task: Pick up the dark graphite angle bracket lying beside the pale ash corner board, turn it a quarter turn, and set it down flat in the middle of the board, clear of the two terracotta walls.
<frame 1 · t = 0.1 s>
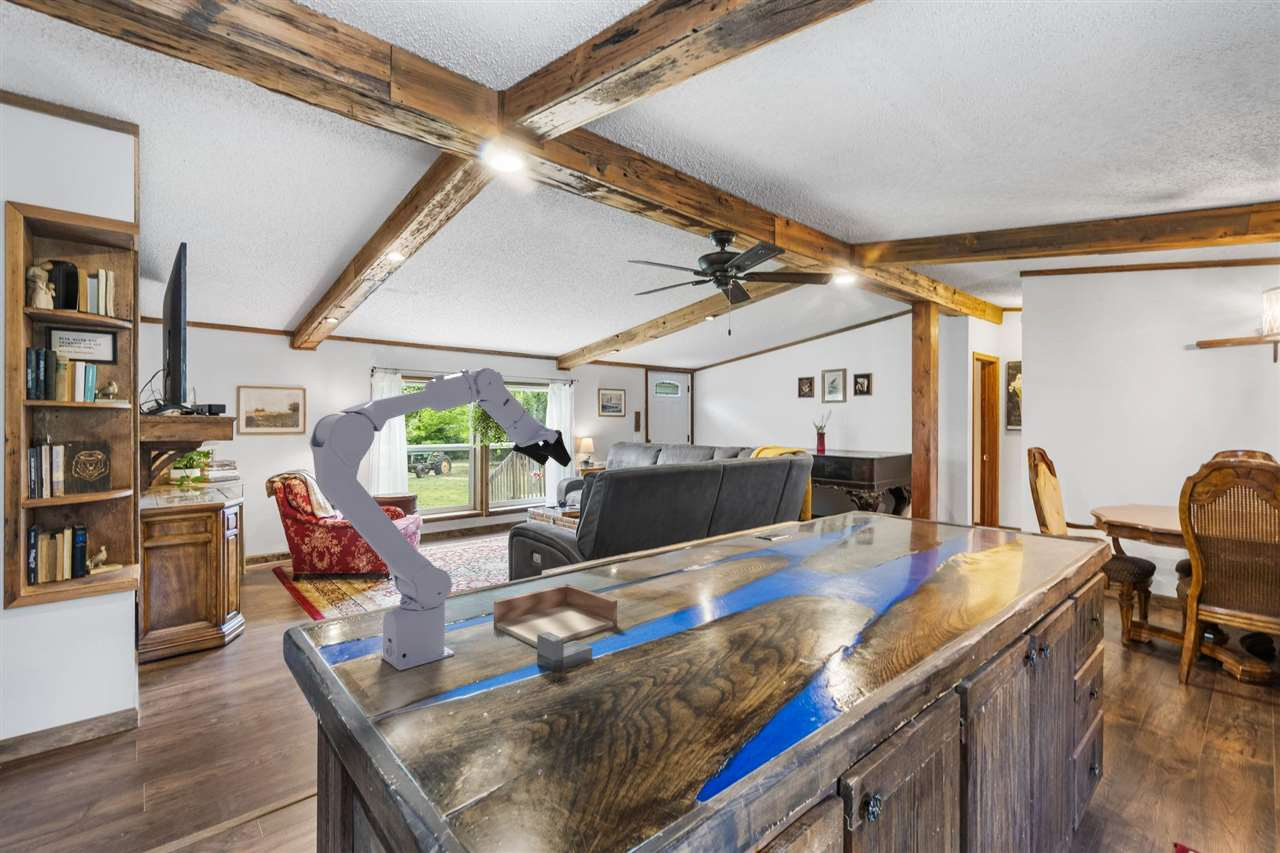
hand: (556, 462, 118), 32 cm above the kitchen island, fingers open, 7 cm apart
angle bracket: (564, 661, 97), on the kitchen island
corner arena: (555, 626, 114), on the kitchen island
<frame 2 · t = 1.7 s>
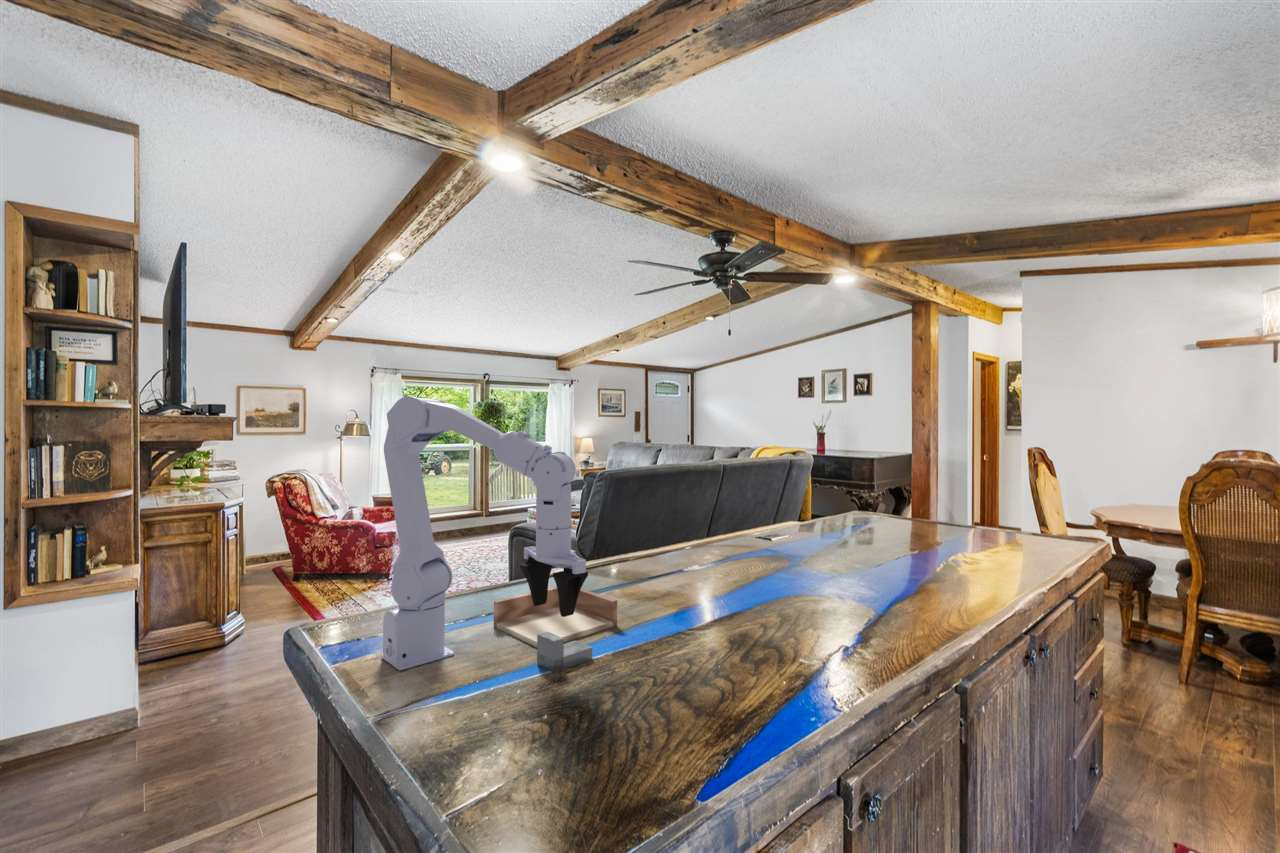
hand: (553, 609, 95), 9 cm above the kitchen island, fingers open, 7 cm apart
nothing on the kitchen island moved.
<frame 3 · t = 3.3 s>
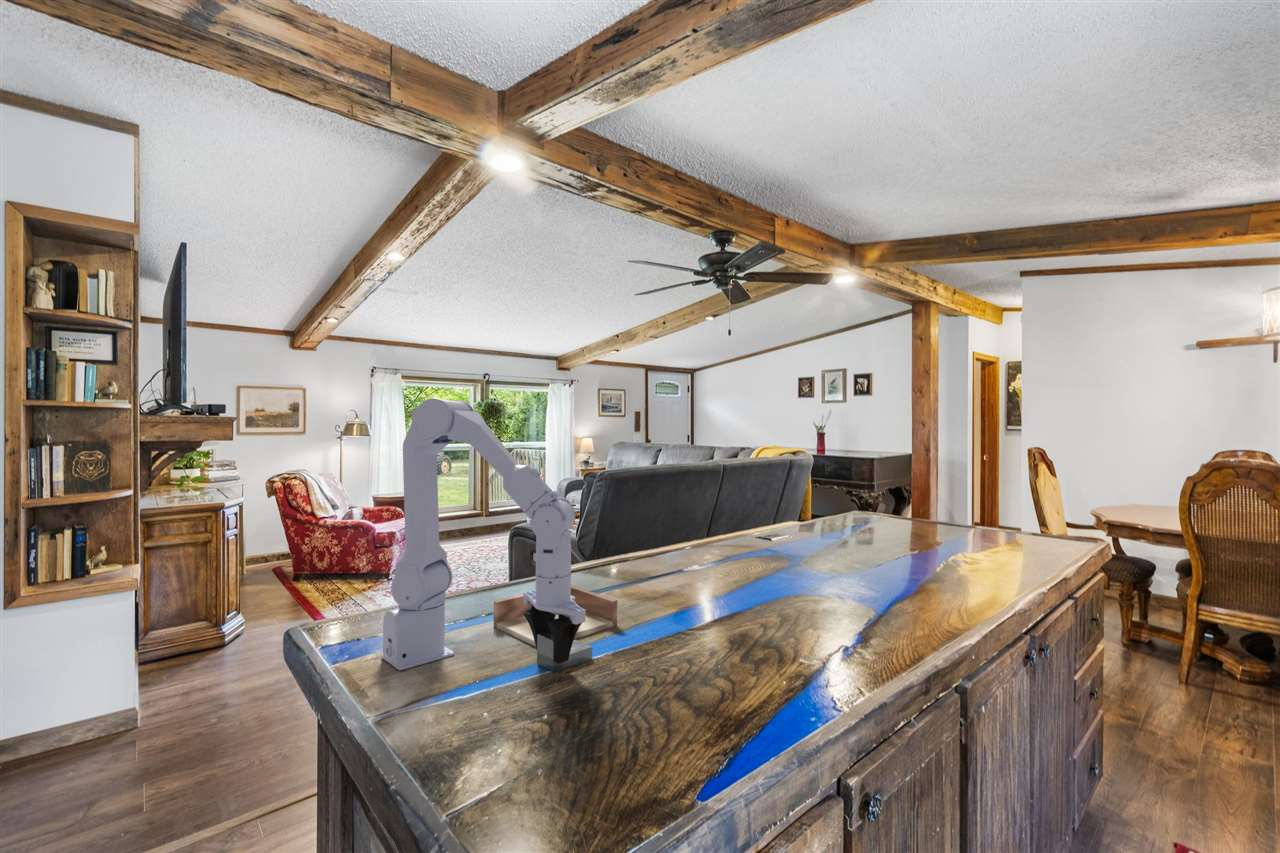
hand: (552, 656, 95), 1 cm above the kitchen island, fingers closed on angle bracket, 4 cm apart
angle bracket: (564, 661, 97), on the kitchen island, touching gripper
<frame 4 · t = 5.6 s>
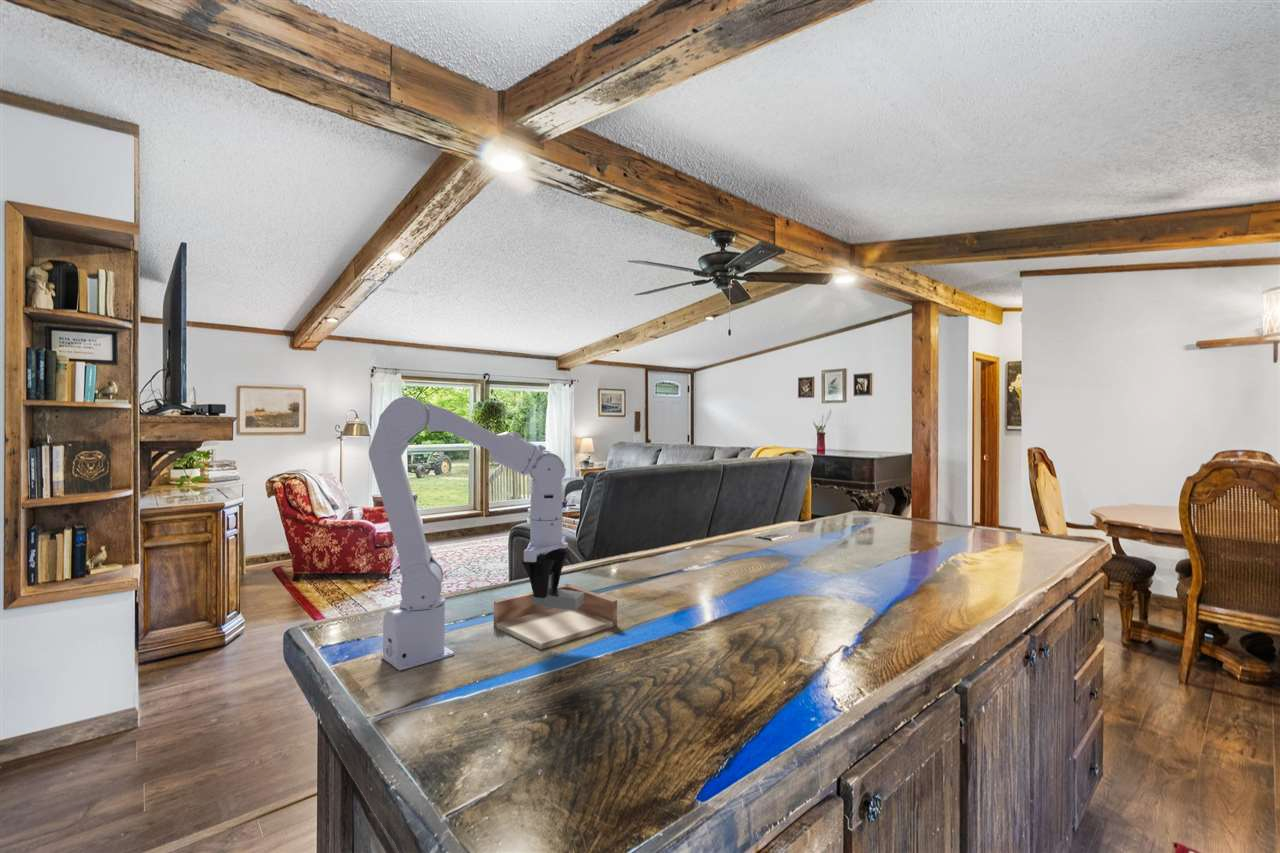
hand: (545, 593, 105), 9 cm above the kitchen island, fingers closed on angle bracket, 4 cm apart
angle bracket: (558, 603, 104), point 7 cm above the kitchen island, touching gripper
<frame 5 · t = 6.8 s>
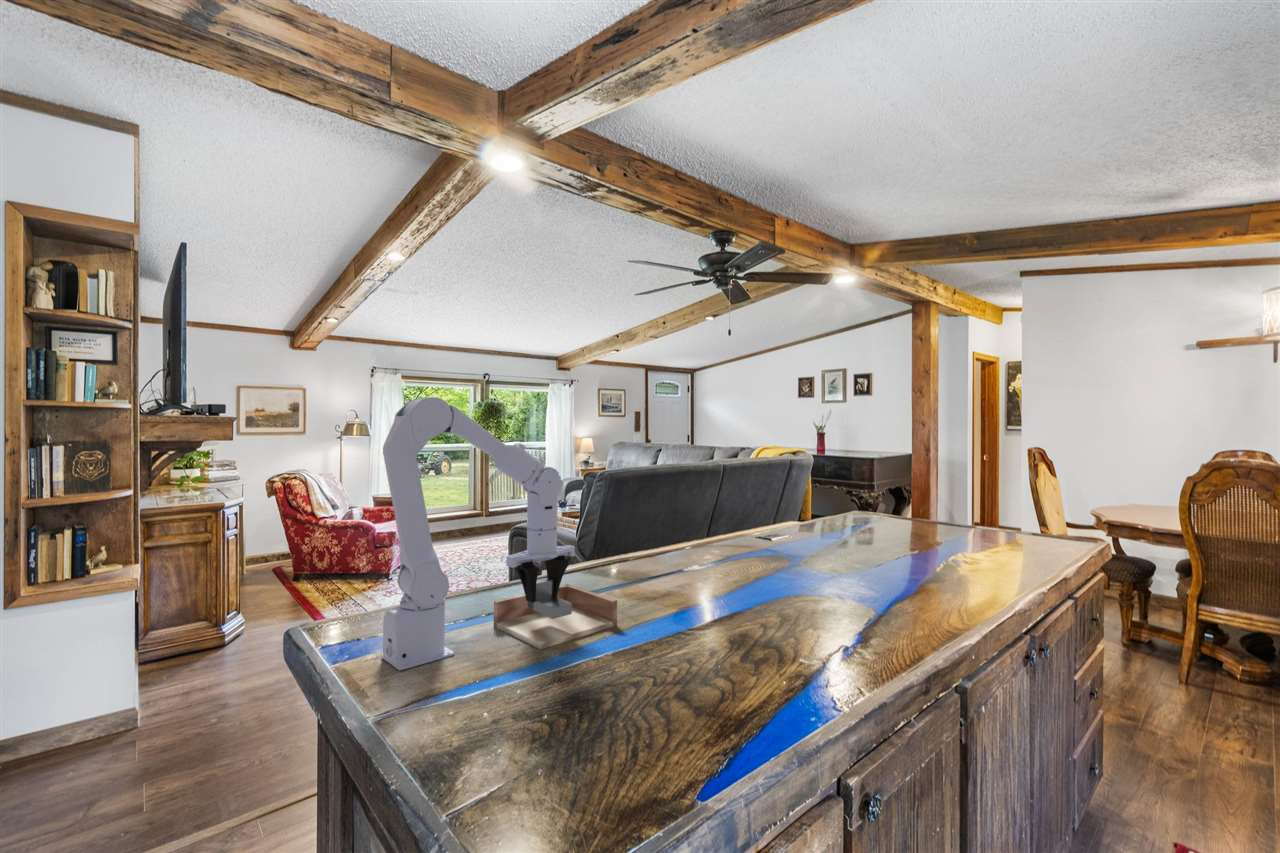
hand: (541, 598, 112), 6 cm above the kitchen island, fingers closed on angle bracket, 4 cm apart
angle bracket: (549, 610, 110), point 4 cm above the kitchen island, touching gripper
when the fingers open (4 cm above the kitchen island, at t = 8.0 s): angle bracket drops 1 cm, resting on corner arena.
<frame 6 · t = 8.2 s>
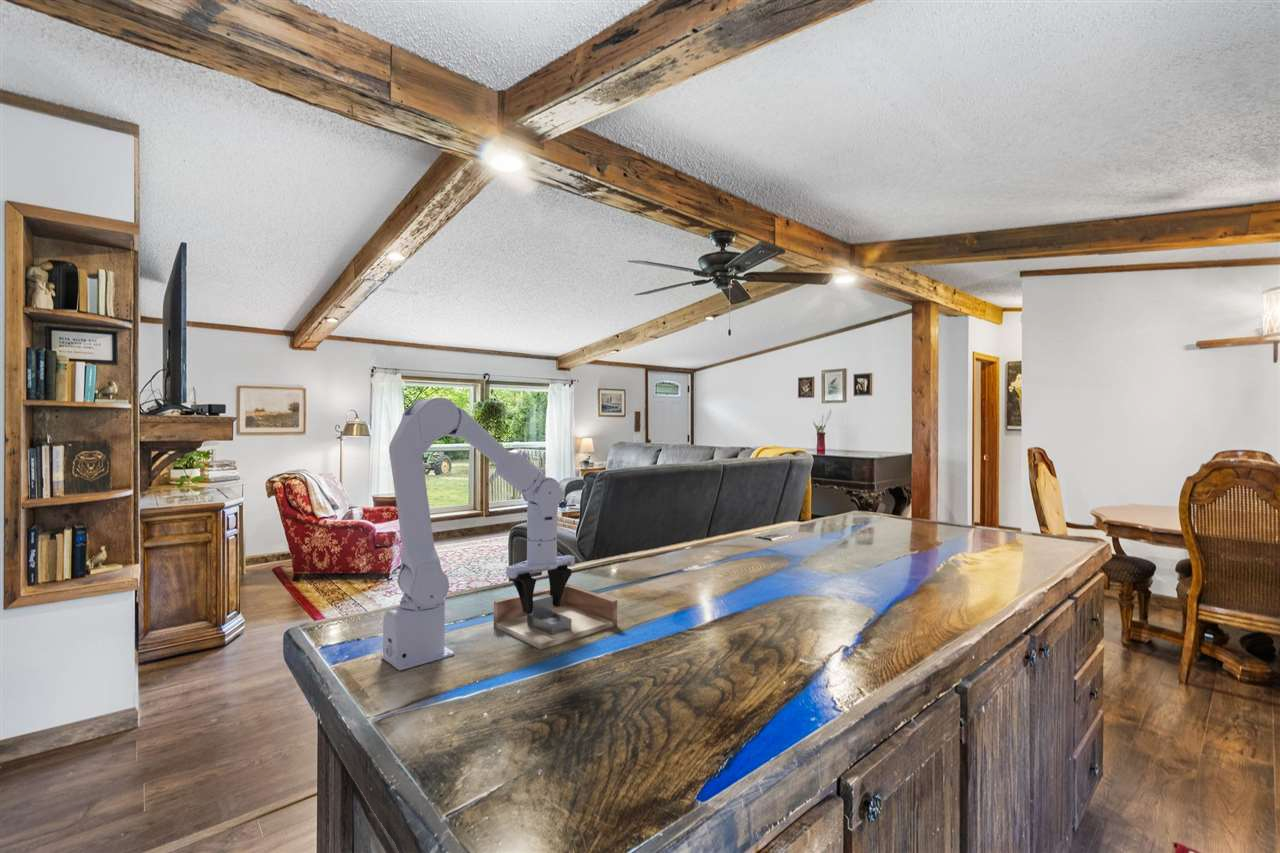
hand: (541, 608, 112), 4 cm above the kitchen island, fingers open, 6 cm apart
angle bracket: (549, 627, 110), point 1 cm above the kitchen island, touching corner arena
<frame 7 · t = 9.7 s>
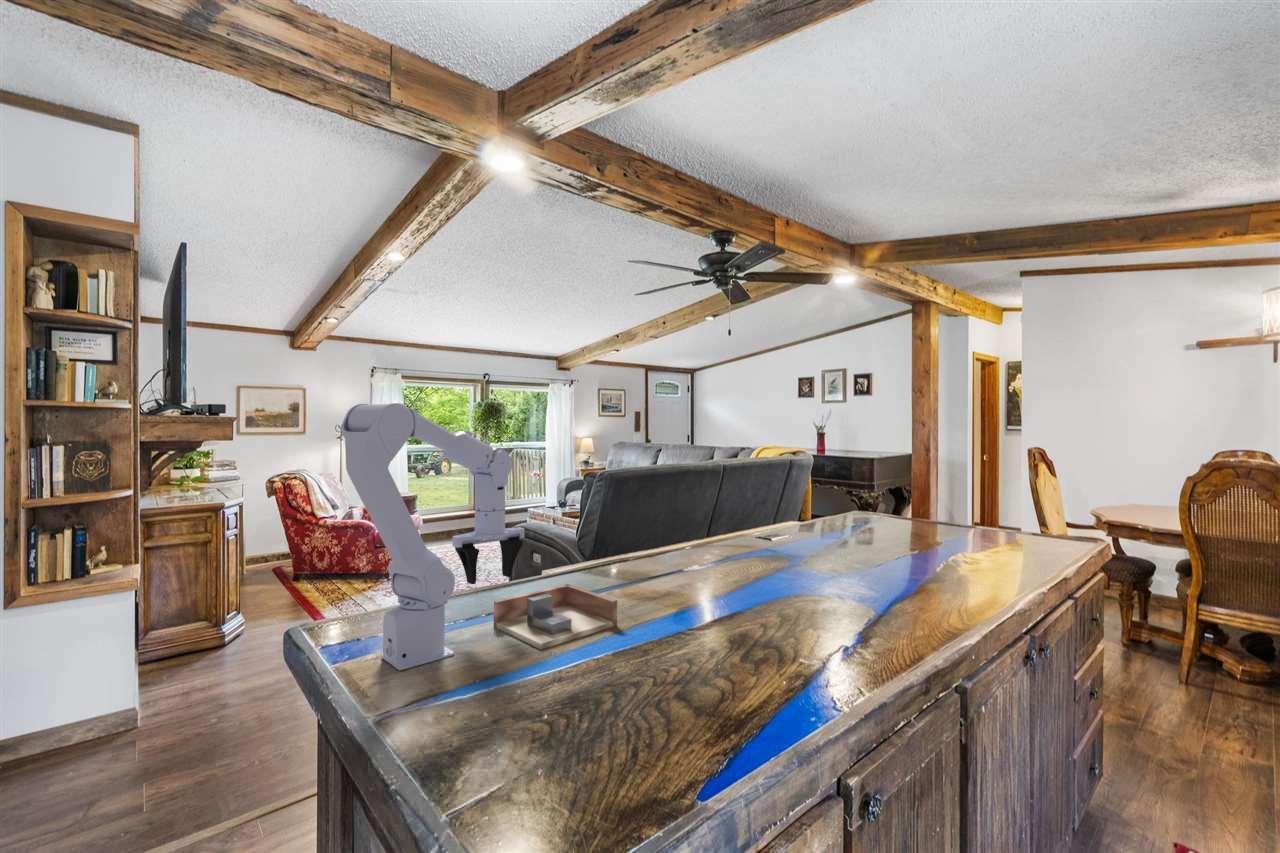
hand: (489, 579, 112), 9 cm above the kitchen island, fingers open, 7 cm apart
nothing on the kitchen island moved.
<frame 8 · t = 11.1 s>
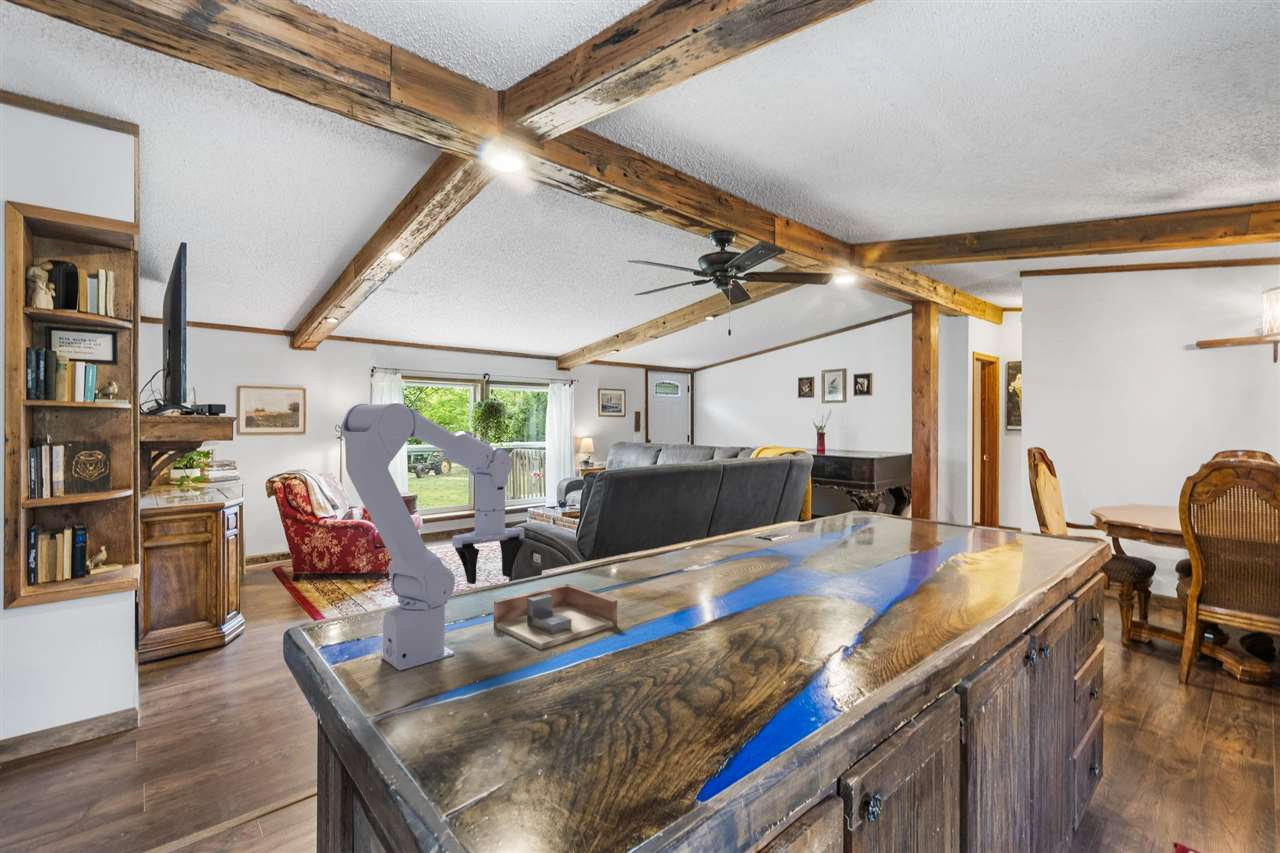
hand: (489, 579, 112), 9 cm above the kitchen island, fingers open, 7 cm apart
nothing on the kitchen island moved.
at the end: angle bracket inside the target area (0.1 cm from its centre), point 1.0 cm above the kitchen island; angle bracket tilted 0°; the gripper is holding nothing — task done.
